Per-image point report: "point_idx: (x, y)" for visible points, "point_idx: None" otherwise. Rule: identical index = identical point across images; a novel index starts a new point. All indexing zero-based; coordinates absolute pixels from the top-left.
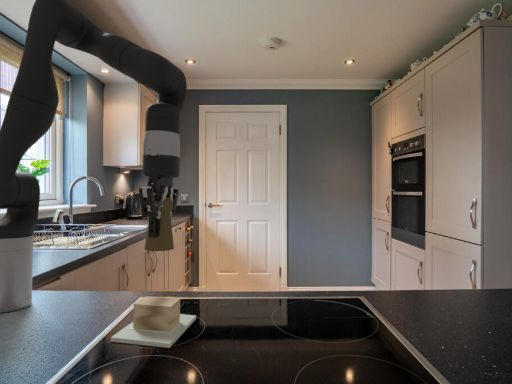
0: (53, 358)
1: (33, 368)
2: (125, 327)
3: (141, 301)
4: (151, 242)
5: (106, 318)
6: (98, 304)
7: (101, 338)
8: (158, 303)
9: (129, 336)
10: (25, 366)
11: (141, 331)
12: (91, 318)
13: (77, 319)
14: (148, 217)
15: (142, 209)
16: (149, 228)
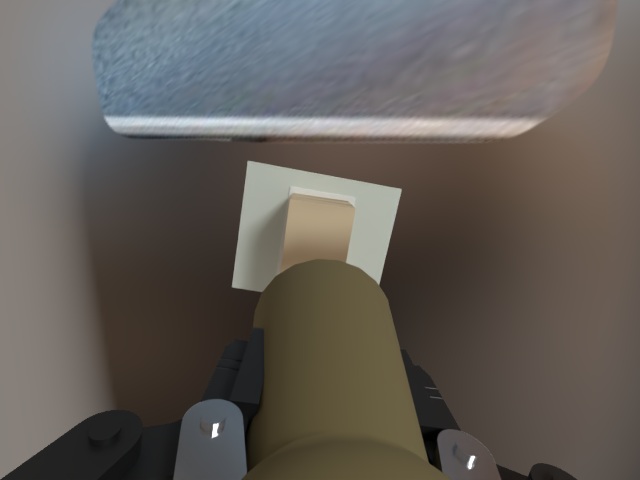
0: (169, 76)
1: (129, 59)
2: (299, 172)
3: (310, 212)
4: (255, 326)
5: (374, 91)
6: (482, 13)
7: (262, 133)
8: (298, 261)
9: (255, 199)
10: (132, 37)
11: (281, 215)
12: (374, 48)
13: (367, 11)
14: (165, 428)
15: (17, 478)
16: (219, 366)
